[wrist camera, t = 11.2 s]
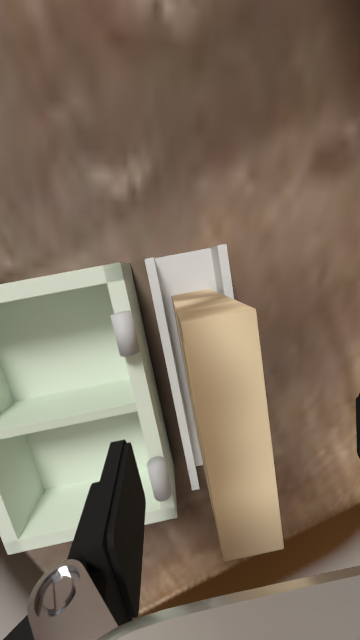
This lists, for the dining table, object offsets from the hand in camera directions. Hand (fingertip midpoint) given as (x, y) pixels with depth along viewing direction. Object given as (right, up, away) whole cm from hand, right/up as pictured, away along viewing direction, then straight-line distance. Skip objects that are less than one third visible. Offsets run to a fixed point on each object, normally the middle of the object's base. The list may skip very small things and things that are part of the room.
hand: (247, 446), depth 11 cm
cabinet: (-7, 0, +11) cm, 13 cm away
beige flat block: (-1, +1, +11) cm, 11 cm away
